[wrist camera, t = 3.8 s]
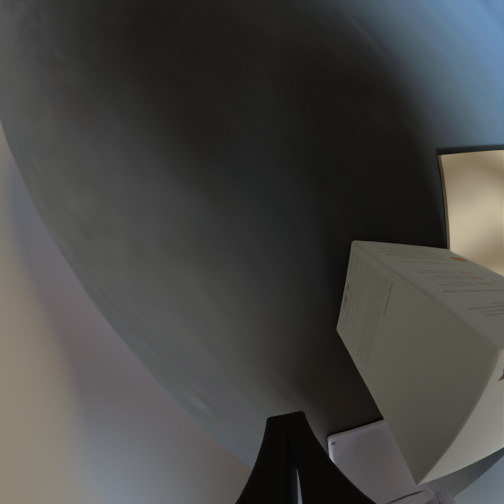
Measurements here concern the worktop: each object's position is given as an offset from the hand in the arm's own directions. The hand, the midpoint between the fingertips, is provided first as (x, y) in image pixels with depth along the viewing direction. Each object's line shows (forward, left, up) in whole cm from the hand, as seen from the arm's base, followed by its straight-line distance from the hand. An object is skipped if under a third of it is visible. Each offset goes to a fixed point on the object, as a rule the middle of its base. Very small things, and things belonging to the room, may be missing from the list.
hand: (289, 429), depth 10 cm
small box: (0, -9, -10) cm, 13 cm away
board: (-1, -20, -9) cm, 22 cm away
